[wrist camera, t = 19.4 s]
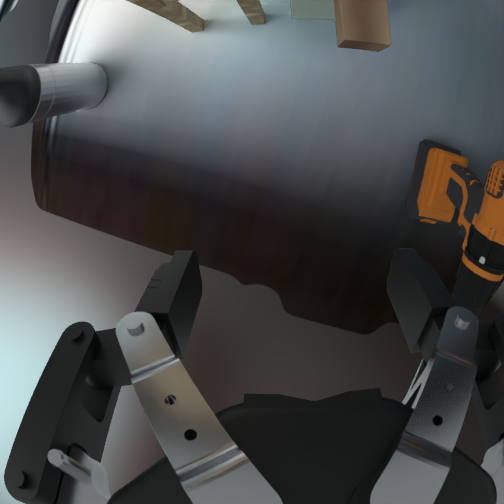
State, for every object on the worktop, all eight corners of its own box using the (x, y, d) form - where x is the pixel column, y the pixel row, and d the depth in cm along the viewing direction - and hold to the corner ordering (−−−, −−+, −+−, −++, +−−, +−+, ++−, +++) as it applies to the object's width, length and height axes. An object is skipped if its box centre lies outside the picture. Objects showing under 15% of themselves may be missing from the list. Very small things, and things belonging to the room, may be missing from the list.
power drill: (426, 248, 49) (482, 341, 28) (393, 243, 50) (442, 342, 28) (455, 138, 38) (552, 185, 17) (420, 127, 39) (515, 165, 17)
